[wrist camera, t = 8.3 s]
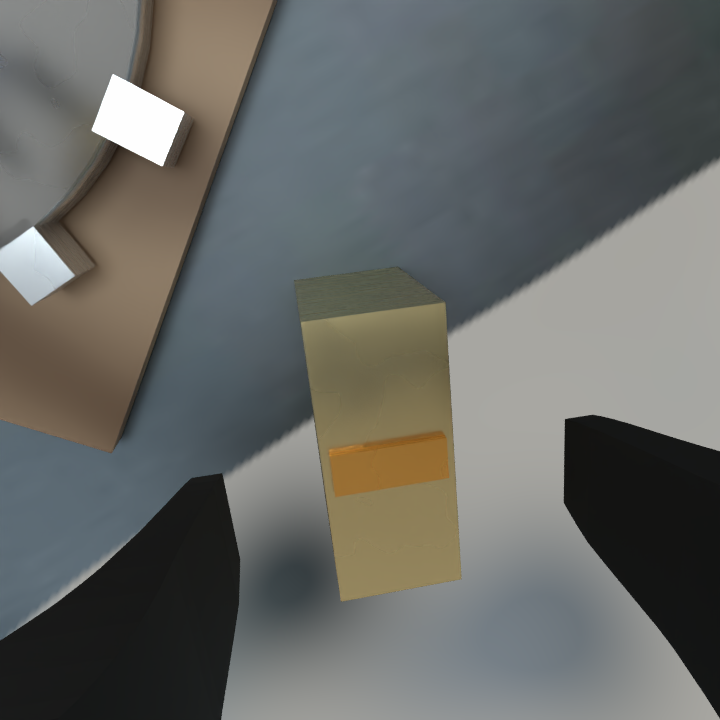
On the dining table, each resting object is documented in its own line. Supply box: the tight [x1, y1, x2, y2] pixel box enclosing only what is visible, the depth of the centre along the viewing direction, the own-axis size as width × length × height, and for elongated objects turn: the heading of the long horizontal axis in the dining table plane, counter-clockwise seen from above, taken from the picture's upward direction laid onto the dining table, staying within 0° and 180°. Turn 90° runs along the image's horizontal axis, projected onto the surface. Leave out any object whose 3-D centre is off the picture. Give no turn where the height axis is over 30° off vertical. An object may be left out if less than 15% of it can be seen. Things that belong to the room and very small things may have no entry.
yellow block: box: [294, 267, 461, 602], centre depth 15 cm, size 7×3×5 cm, turn 6°
